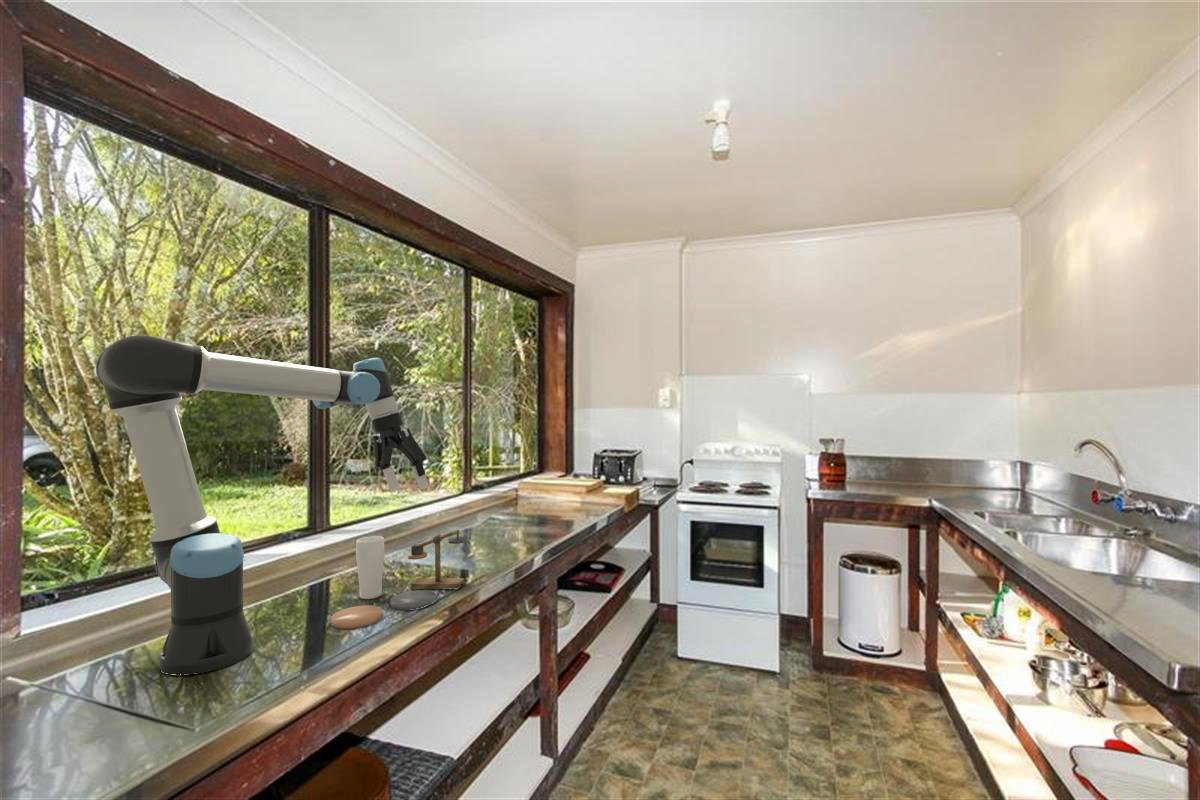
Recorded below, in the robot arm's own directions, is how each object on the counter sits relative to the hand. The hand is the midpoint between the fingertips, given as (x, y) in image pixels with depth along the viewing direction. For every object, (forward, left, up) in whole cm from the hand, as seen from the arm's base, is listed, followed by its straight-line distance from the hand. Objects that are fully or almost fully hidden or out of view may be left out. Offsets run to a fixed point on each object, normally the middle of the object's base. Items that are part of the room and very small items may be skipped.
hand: (408, 488), depth 150 cm
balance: (+8, 0, -27) cm, 28 cm away
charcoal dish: (+6, -12, -27) cm, 30 cm away
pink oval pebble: (-3, -23, -27) cm, 35 cm away
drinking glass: (-7, -8, -27) cm, 29 cm away
